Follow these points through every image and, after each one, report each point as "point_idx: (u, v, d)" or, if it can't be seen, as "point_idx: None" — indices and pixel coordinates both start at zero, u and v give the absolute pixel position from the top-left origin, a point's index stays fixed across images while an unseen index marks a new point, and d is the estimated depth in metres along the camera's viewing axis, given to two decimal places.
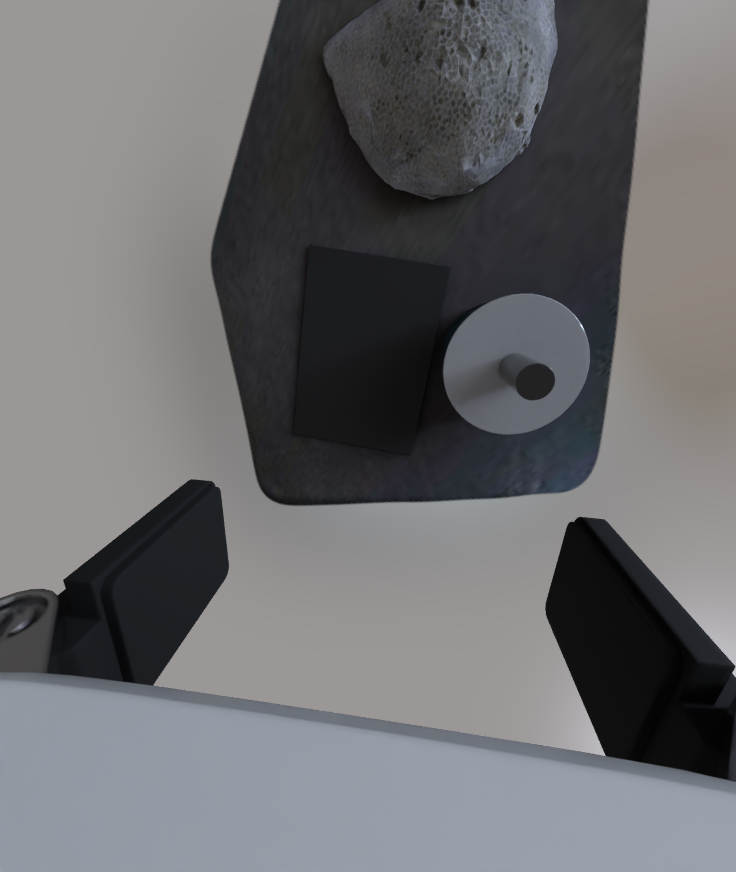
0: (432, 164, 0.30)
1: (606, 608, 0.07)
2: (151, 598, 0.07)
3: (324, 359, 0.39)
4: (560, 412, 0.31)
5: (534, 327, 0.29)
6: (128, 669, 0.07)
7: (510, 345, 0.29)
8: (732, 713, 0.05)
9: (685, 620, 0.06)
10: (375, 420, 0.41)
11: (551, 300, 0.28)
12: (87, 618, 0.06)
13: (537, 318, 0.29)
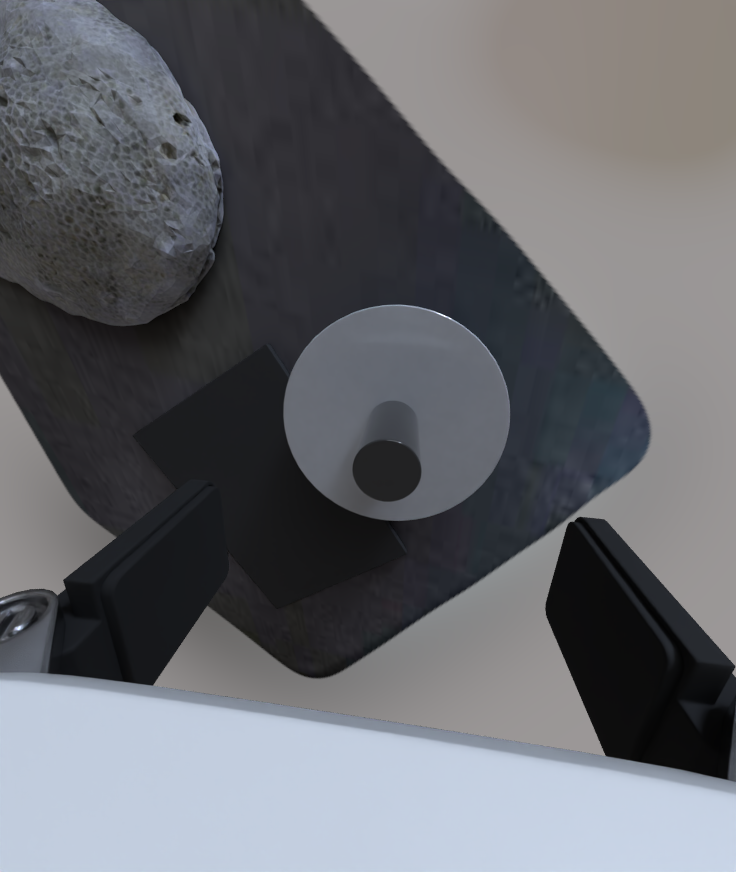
0: (138, 277, 0.22)
1: (606, 608, 0.07)
2: (151, 598, 0.07)
3: (239, 523, 0.31)
4: (505, 428, 0.18)
5: (367, 361, 0.18)
6: (128, 669, 0.07)
7: (360, 403, 0.18)
8: (732, 713, 0.05)
9: (685, 620, 0.06)
10: (338, 545, 0.31)
11: (355, 314, 0.17)
12: (87, 618, 0.06)
13: (360, 348, 0.17)
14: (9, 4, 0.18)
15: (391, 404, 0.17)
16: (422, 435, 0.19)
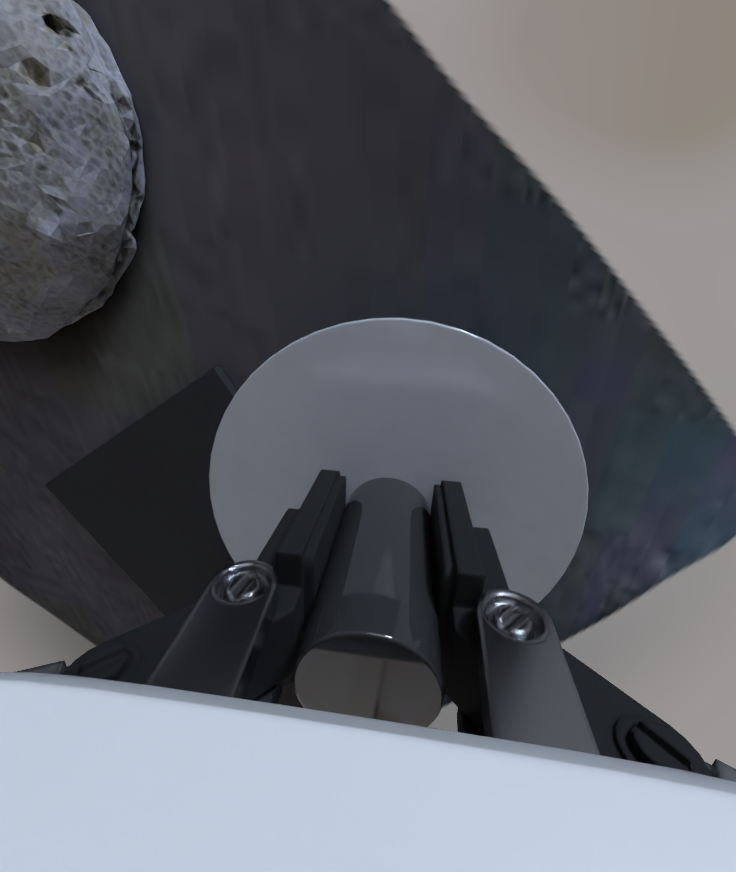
0: (12, 272, 0.15)
1: (436, 548, 0.09)
2: (322, 572, 0.08)
3: (189, 596, 0.24)
4: (577, 527, 0.11)
5: (344, 413, 0.10)
6: None
7: None
8: (478, 627, 0.06)
9: (470, 548, 0.07)
10: None
11: (321, 334, 0.10)
12: (289, 586, 0.07)
13: (331, 391, 0.10)
14: None
15: (384, 489, 0.10)
16: None
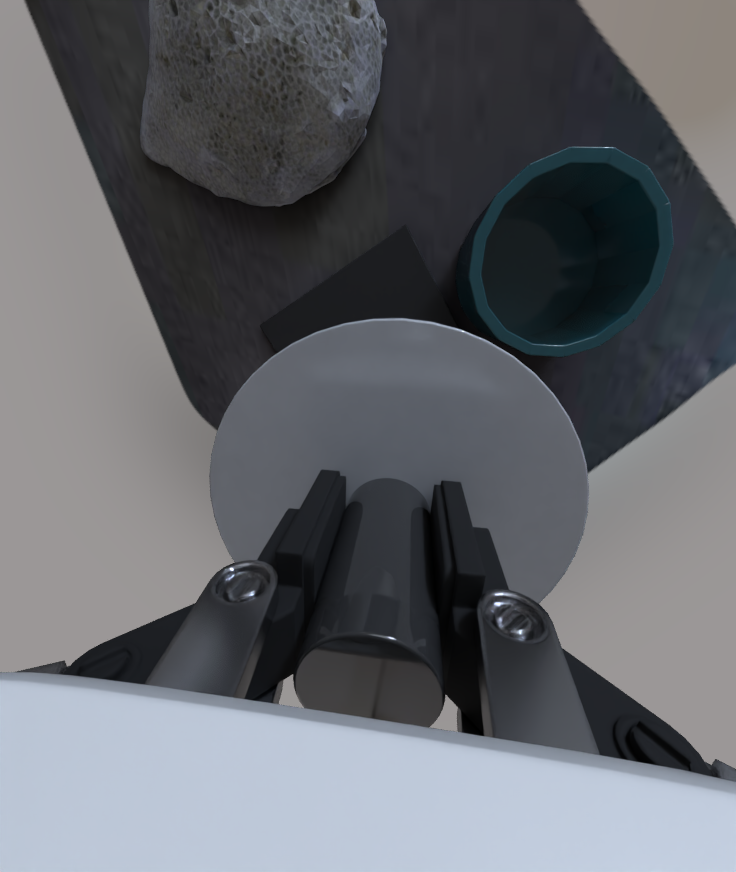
0: (305, 143, 0.23)
1: (436, 548, 0.09)
2: (322, 572, 0.08)
3: None
4: (578, 527, 0.11)
5: (344, 413, 0.10)
6: None
7: None
8: (478, 627, 0.06)
9: (470, 548, 0.07)
10: None
11: (321, 334, 0.10)
12: (289, 586, 0.07)
13: (331, 392, 0.10)
14: None
15: (384, 490, 0.10)
16: None
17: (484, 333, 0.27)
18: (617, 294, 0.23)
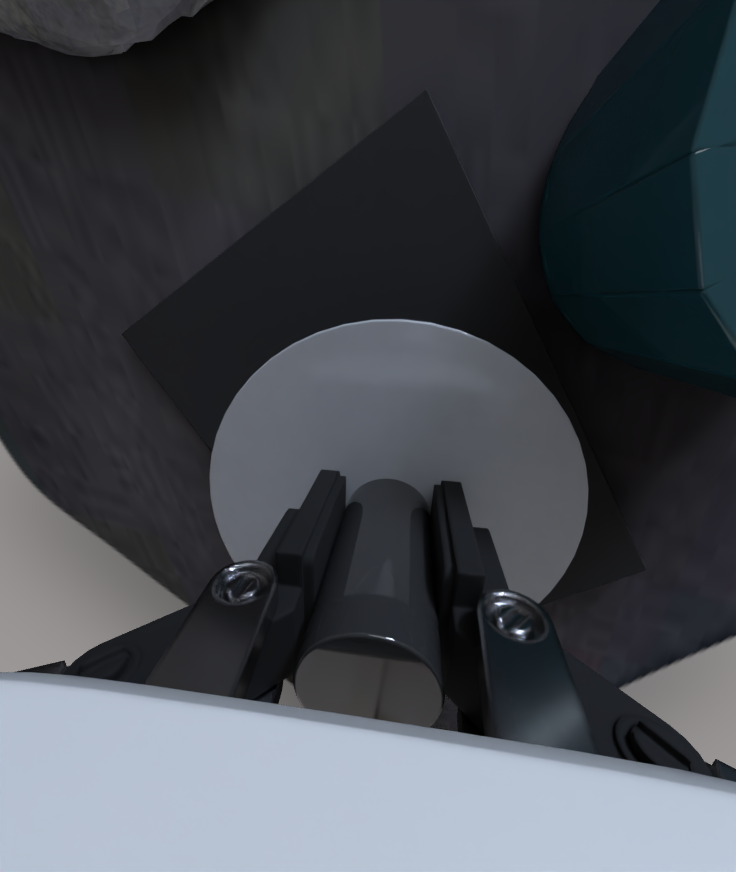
0: None
1: (436, 548, 0.09)
2: (322, 572, 0.08)
3: None
4: (577, 527, 0.11)
5: (344, 414, 0.10)
6: None
7: None
8: (478, 627, 0.06)
9: (470, 547, 0.07)
10: None
11: (321, 335, 0.10)
12: (289, 586, 0.07)
13: (331, 393, 0.10)
14: None
15: (384, 490, 0.10)
16: None
17: (619, 351, 0.11)
18: None
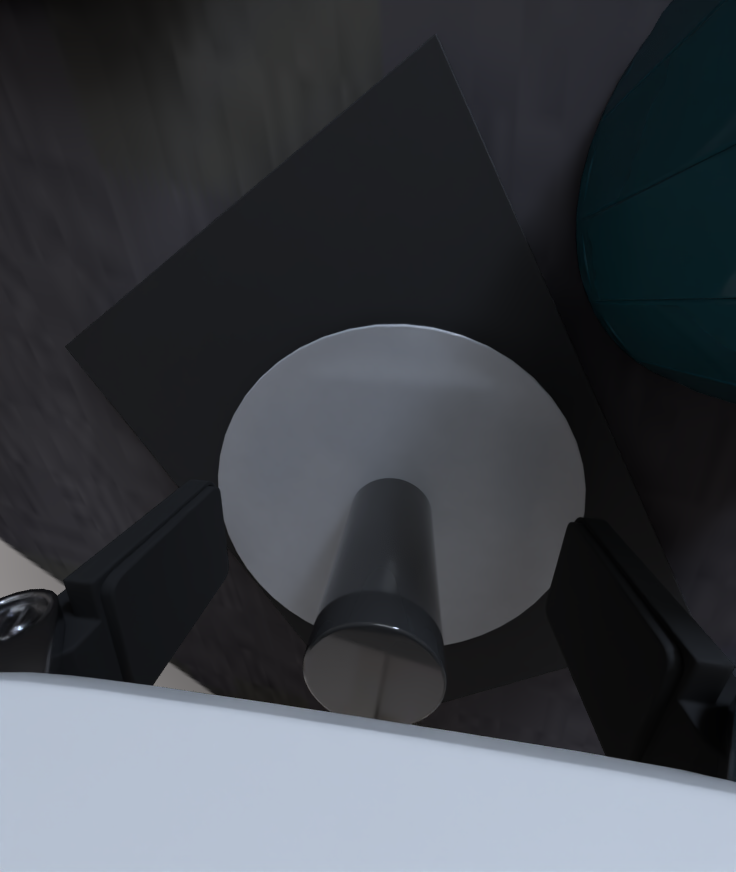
0: None
1: (606, 608, 0.07)
2: (151, 598, 0.07)
3: None
4: None
5: (349, 415, 0.11)
6: (128, 669, 0.07)
7: (339, 480, 0.11)
8: (732, 713, 0.05)
9: (685, 620, 0.06)
10: (532, 606, 0.14)
11: (327, 339, 0.10)
12: (87, 618, 0.06)
13: (337, 395, 0.10)
14: None
15: (388, 489, 0.10)
16: (438, 531, 0.12)
17: (687, 374, 0.08)
18: None
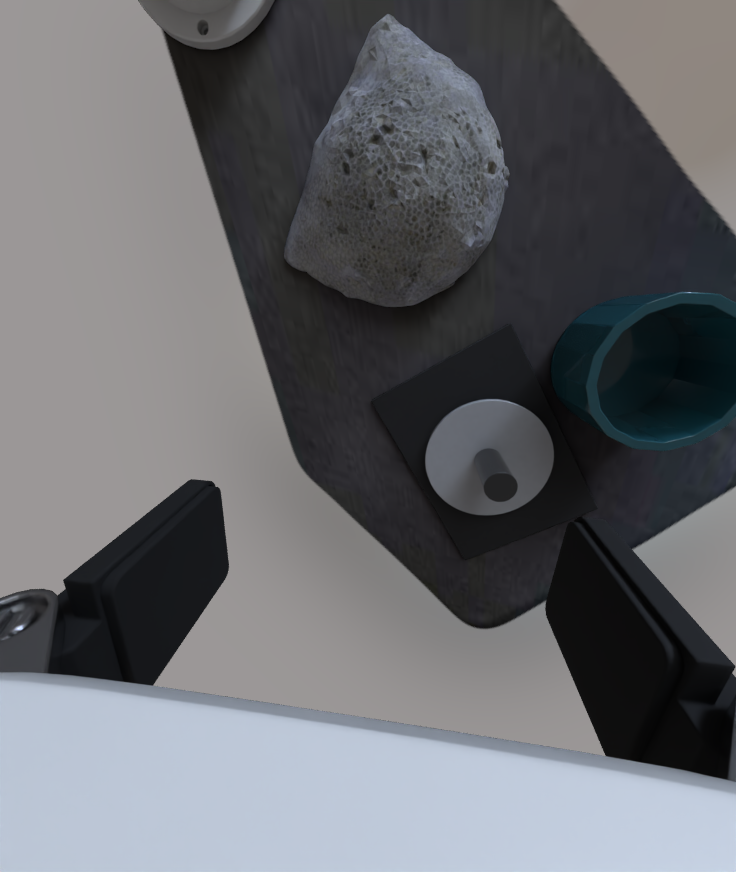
0: (437, 265, 0.28)
1: (606, 608, 0.07)
2: (151, 598, 0.07)
3: None
4: (550, 465, 0.33)
5: (477, 427, 0.33)
6: (128, 669, 0.07)
7: (471, 449, 0.34)
8: (732, 713, 0.05)
9: (685, 620, 0.06)
10: (536, 500, 0.36)
11: (473, 404, 0.32)
12: (87, 618, 0.06)
13: (474, 420, 0.33)
14: (391, 59, 0.24)
15: (490, 451, 0.33)
16: None
17: (579, 417, 0.31)
18: (706, 396, 0.27)
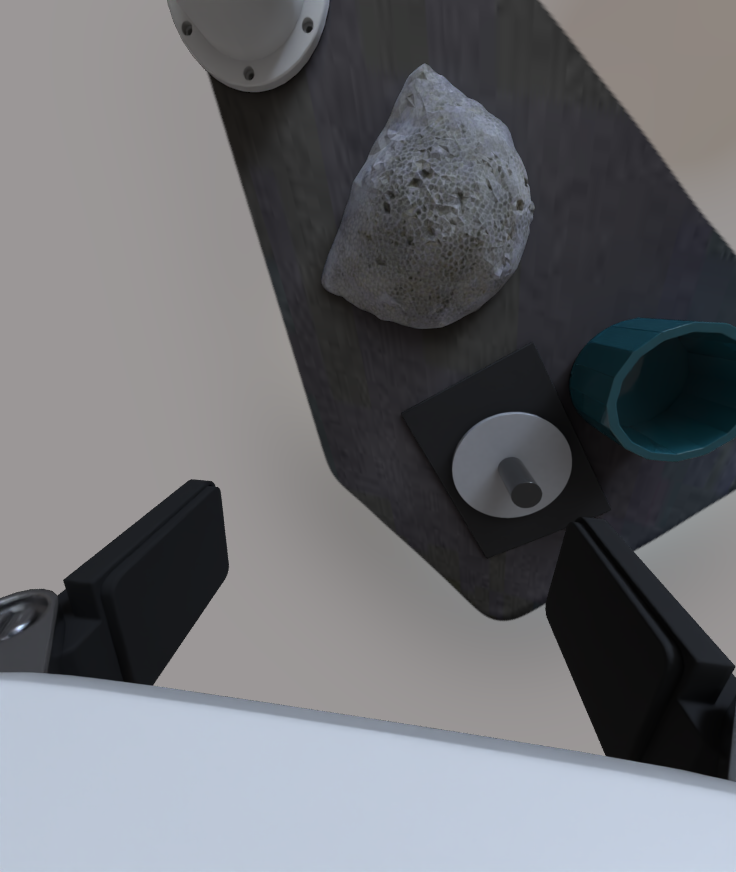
0: (468, 293, 0.30)
1: (606, 608, 0.07)
2: (151, 598, 0.07)
3: None
4: (569, 471, 0.36)
5: (501, 438, 0.36)
6: (128, 669, 0.07)
7: (495, 458, 0.36)
8: (732, 713, 0.05)
9: (685, 620, 0.06)
10: (554, 503, 0.39)
11: (498, 417, 0.35)
12: (87, 618, 0.06)
13: (498, 432, 0.36)
14: (428, 107, 0.26)
15: (514, 459, 0.35)
16: None
17: None
18: (714, 410, 0.30)
